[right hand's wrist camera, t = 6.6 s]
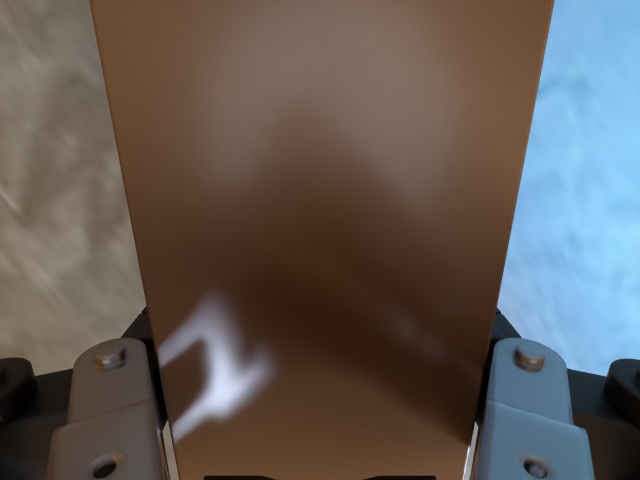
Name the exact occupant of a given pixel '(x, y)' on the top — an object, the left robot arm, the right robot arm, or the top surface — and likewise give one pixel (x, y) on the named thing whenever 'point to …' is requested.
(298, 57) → the box
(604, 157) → the top surface
